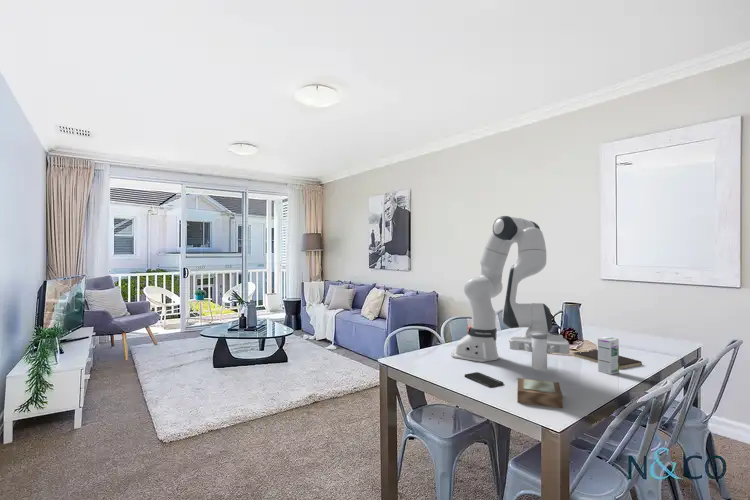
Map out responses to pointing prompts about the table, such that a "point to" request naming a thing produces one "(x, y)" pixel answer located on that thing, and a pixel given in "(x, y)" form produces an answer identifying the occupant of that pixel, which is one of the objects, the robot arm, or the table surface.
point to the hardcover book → (593, 357)
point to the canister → (539, 351)
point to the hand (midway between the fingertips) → (539, 350)
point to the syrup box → (608, 355)
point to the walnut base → (539, 393)
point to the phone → (484, 379)
